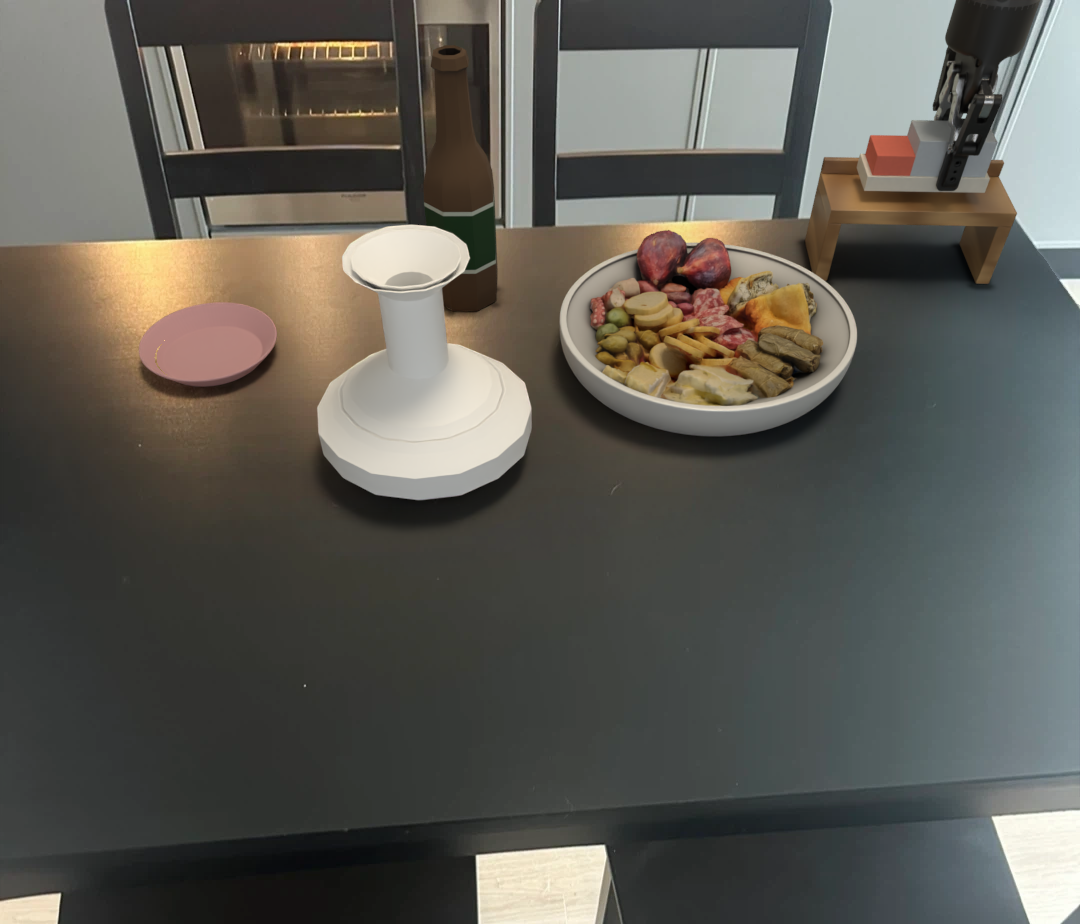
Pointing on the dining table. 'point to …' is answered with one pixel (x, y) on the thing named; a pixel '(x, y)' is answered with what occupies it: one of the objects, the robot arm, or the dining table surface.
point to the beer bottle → (461, 184)
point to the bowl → (706, 336)
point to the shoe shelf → (909, 215)
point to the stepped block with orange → (920, 160)
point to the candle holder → (420, 381)
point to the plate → (208, 343)
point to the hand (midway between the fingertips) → (940, 175)
